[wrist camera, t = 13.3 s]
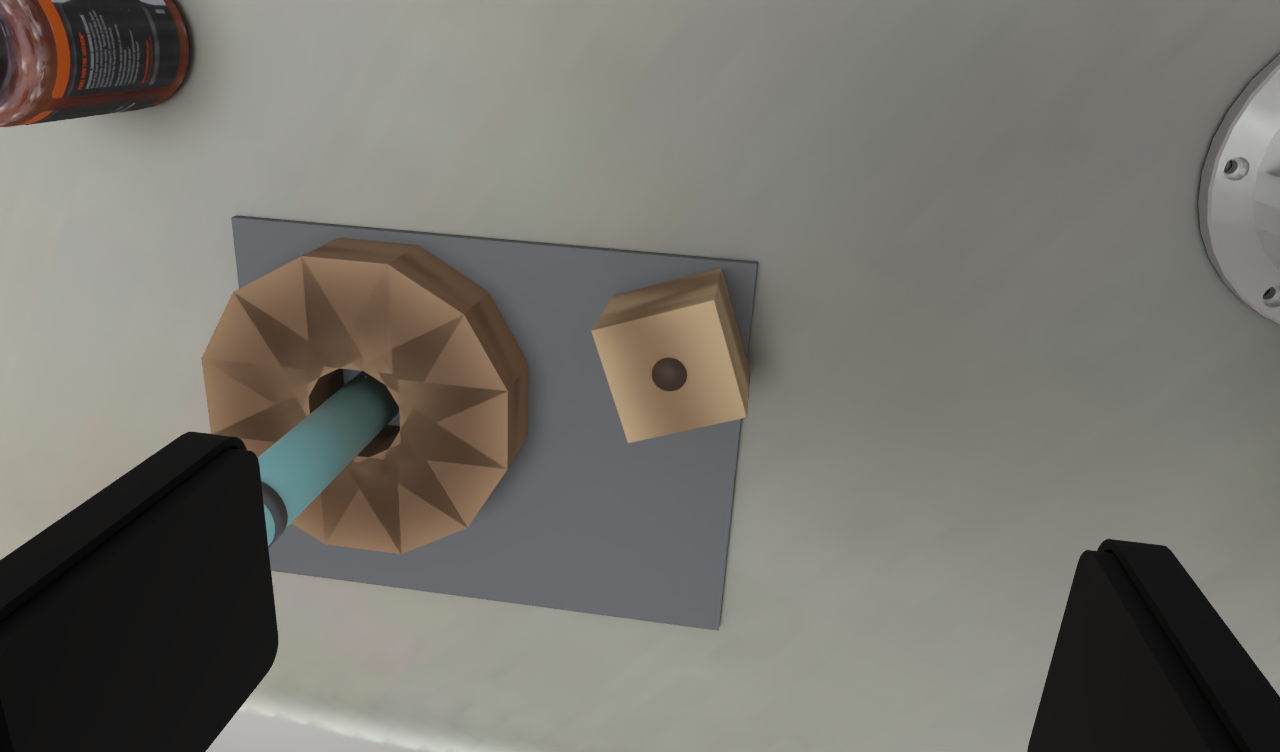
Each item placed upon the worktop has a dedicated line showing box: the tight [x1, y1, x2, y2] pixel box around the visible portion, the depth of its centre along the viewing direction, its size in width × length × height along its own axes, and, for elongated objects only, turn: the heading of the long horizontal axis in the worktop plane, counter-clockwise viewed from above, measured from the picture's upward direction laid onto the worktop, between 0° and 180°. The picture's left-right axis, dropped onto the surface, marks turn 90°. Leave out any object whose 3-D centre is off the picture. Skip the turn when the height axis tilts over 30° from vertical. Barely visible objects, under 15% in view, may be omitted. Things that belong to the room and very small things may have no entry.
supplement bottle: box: [0, 0, 189, 127], centre depth 35 cm, size 6×6×11 cm
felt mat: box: [231, 216, 757, 630], centre depth 44 cm, size 24×19×1 cm
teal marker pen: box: [258, 371, 399, 548], centre depth 37 cm, size 3×3×14 cm
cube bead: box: [591, 268, 750, 443], centre depth 38 cm, size 5×5×5 cm
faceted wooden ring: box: [202, 238, 528, 554], centre depth 42 cm, size 14×14×4 cm
